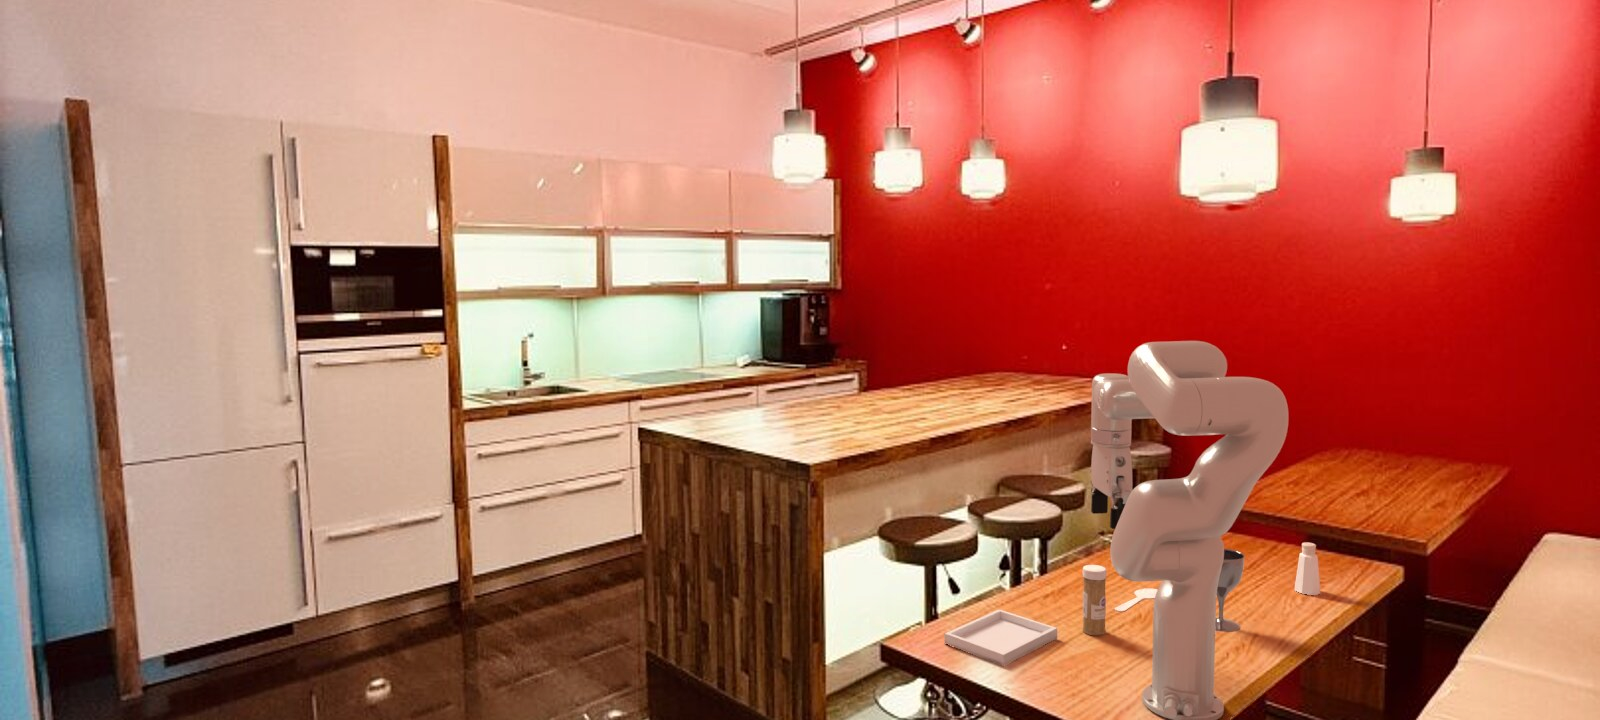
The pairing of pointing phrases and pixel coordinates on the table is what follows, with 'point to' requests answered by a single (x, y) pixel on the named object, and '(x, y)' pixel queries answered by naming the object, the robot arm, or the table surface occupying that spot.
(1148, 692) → the robot arm
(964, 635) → the tray
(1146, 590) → the spoon
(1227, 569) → the wine glass
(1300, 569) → the salt shaker
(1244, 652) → the table surface
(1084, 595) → the sprinkles bottle
